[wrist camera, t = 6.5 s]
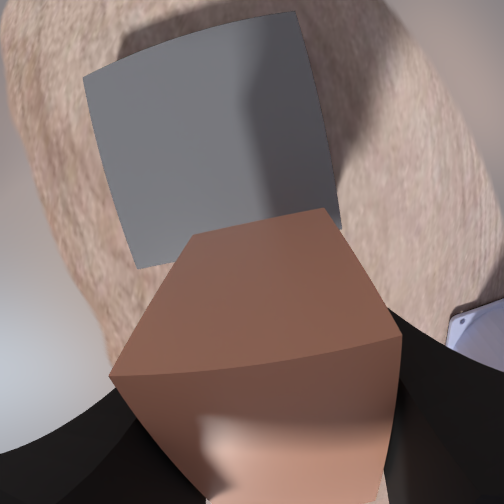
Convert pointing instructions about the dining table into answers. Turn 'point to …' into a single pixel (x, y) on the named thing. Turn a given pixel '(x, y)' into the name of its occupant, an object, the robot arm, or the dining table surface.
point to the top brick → (268, 365)
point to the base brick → (211, 134)
